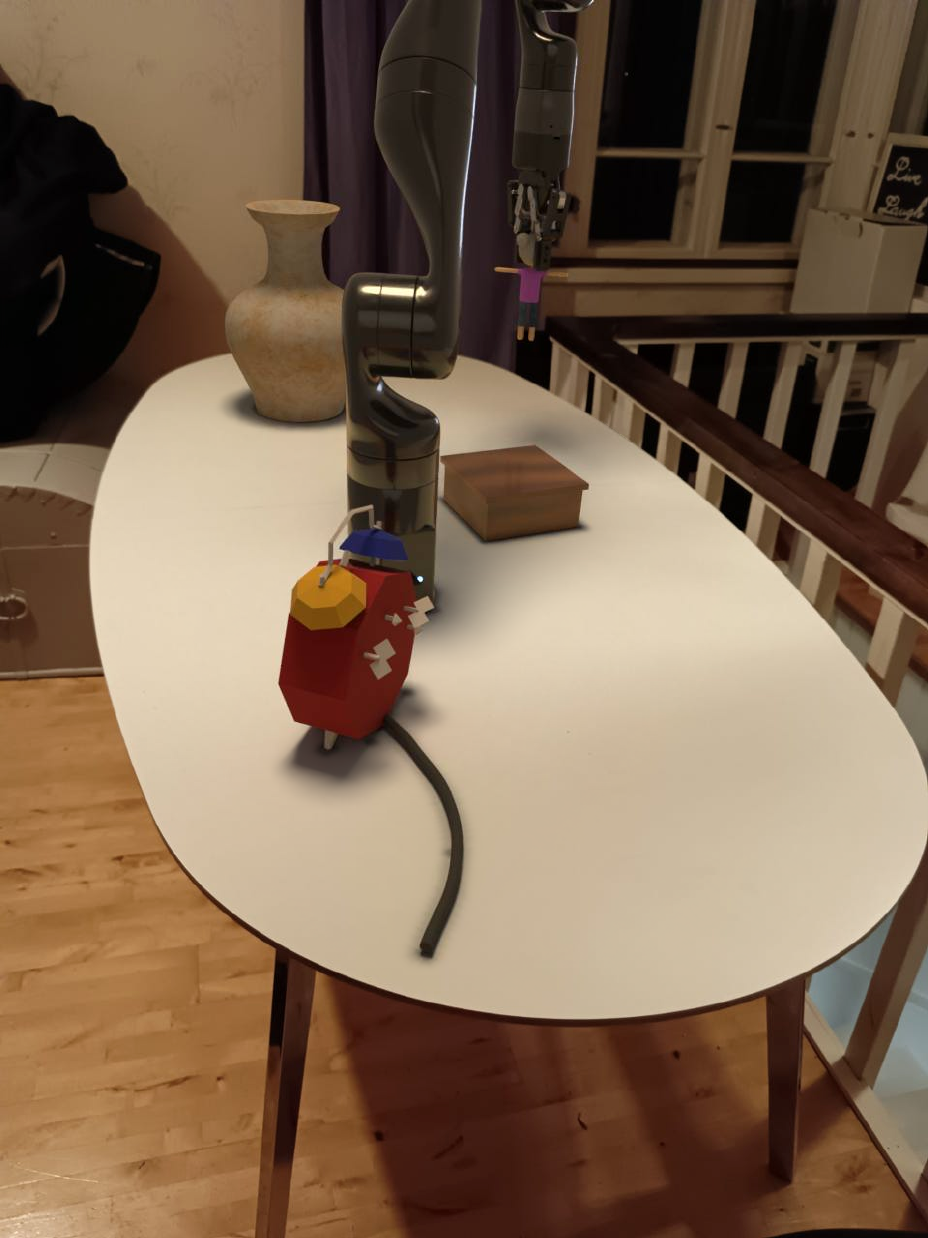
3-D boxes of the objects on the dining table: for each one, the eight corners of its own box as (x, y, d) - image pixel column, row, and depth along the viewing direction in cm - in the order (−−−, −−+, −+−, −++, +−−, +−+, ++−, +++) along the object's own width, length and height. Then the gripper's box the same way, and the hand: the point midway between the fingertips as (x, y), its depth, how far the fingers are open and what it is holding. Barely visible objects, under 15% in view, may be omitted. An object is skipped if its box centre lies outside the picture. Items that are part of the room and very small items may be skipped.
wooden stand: (583, 527, 120) (589, 483, 117) (483, 543, 115) (487, 497, 112) (531, 485, 131) (535, 444, 128) (438, 498, 126) (439, 455, 123)
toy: (561, 339, 140) (573, 230, 132) (561, 349, 135) (573, 236, 127) (490, 333, 140) (498, 224, 133) (487, 343, 136) (495, 230, 128)
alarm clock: (357, 665, 91) (355, 469, 81) (441, 687, 89) (451, 488, 79) (280, 756, 79) (267, 539, 69) (375, 783, 77) (376, 564, 67)
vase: (214, 425, 145) (195, 212, 129) (250, 382, 164) (238, 191, 148) (357, 435, 144) (355, 222, 129) (377, 390, 163) (378, 200, 148)
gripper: (493, 124, 128) (484, 257, 137) (544, 132, 117) (531, 277, 126) (542, 125, 131) (531, 256, 140) (596, 134, 120) (581, 275, 128)
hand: (531, 265), depth 133 cm, fingers closed on toy, 5 cm apart
